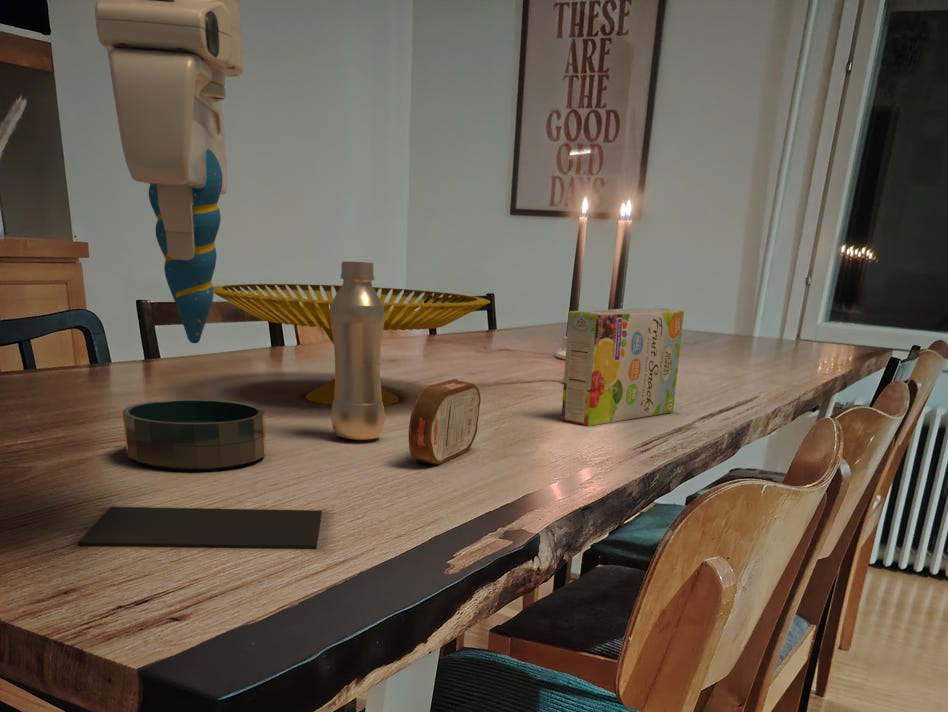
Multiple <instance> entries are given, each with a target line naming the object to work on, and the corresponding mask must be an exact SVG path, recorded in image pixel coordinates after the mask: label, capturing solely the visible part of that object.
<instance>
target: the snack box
mask: <svg viewBox="0 0 948 712" xmlns="http://www.w3.org/2000/svg"><path fill="white" fill-rule="evenodd" d="M684 314H685V311H684V310H683V309H677V308H669V307H650V308H645V307H643V308H616V309H594V310H593V309H592V310H570V311H568V313H567V326H566V327H567V328H566V329H567V330H566V344H565V358H564V359H565V360H564V373H563V375H564V376H563V387H562V389H563V391H562V393H563V394H562V404H561V418H560V419H561V420H560V421H562V422H565V423H571V424H577V425H582V426H587V427H591V426H592V427H593V426H597V425H603V424H609V423H615V422H622V421H627V420H634V419H640V418H647V417H651V416H659V415H665V414H670V413H671V414H672V413H674V409H675V408H674V407H675V397H676V389H677V388H676V387H677V381H678V380H677V379H678V371H679V361H680V352H681V342H682V334H683V332H682V331H683V326H684V325H683V323H684V316H685V315H684Z"/></svg>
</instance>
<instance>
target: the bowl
mask: <svg viewBox="0 0 948 712" xmlns="http://www.w3.org/2000/svg"><path fill="white" fill-rule="evenodd" d="M121 412H122V421H123V430H124V441H125V451H126V454H127V457H128V458H129V459H131V460H134V461H136V462H137V463H140V464H142V465H145V466H148V467H151V468H156V469H162V470H169V471H182V472H183V471H185V472H205V471H206V472H208V471H221V470H229V469H235V468H240V467H243V466H247V465H250V464H252V463H254V462H256V461H258V460H260V459H261V458H264V457H265V456H266V453H267V439H266V438H267V437H266V416H265V415H266V413H265V411H264V410H263V409H262V408H261V407H259V406H255V405H253V404H248V403H243V402H237V401H227V400H218V399H171V400H155V401H149V402H141V403H138V404H134V405H130V406H127V407H126V408H124V409H123V410H122V411H121Z"/></svg>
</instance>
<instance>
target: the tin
mask: <svg viewBox="0 0 948 712" xmlns="http://www.w3.org/2000/svg"><path fill="white" fill-rule="evenodd" d="M480 407H481V392H480V390H479V388H478V386H477V385H476V384H475V383H472V382H468V381H463V380H458V379H457V378H452V379H449V380H444V381H440V382H436V383H431V384H428V385H426V386H424V387H423V389H422V390H421V391H420V392H419V394H418V396H417V397H416V399H415V401H414V404H413V407H412V410H411V414H410V419H409V425H408V449H409V452H410V453H409V454H410V455H411V457H412V459H413V460H414V461H415V462H417V463H425V464H430V465H437V466H438V465H442V464H443V463H446V462H448V461H450V460H453V459H454V458H457V457H459V456H462V455H463V454H466V453H467V452H468V451H469V450H470V448H471V447H472V446H473V443H474V442H475V438H476V436H477V432H478V423H479V416H480Z"/></svg>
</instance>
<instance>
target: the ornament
mask: <svg viewBox="0 0 948 712" xmlns="http://www.w3.org/2000/svg"><path fill="white" fill-rule="evenodd" d="M206 173H207V179H206V185H205V187H204V188H202V189H197V188H193V187H192V192H193V206H192V213H193V227H194V233H196V249H197V255H196V257H195V258H194V259H192V260H173V259H172V258H170V257H169V255H168V253H167V241H166V231H165V228H164V224H163V220H162V216H161V213H160V209H159V205H158V193H157V186H156V185H151V184H149V188H148V199H149V203H150V206H151V208H152V211H153V212H154V216H155V217H156V219H157V221H156V223H155V224H156V225H155V237H156V241H157V243H158V246H159V249H160V251H161V253H162V255H163V257H164V266H163V267H164V275H165V279H166V282H167V283H166V284H167V285H168V288H169V291H170V293H171V296H172V298H173V301H174V304H175V306H176V308H177V311H178V314H179V317H180V321H181V323H182V325H183V328H184V331H185V334H186V337H187V340H188V341H189V343H191V344H199V342H200V341H201V338H202V334H203V331H204V329H205V325H206V322H207V320H208V316H209V313H210V310H211V307H212V305H213V300H214V294H215V293H214V292H213V287H214V286H213V282H212V280H213V277H214V273H215V268H216V264H217V249H216V245H215V241H216V238H217V236H218V232H219V229H220V225H221V211H220V207H219V205H218V202H219V199H220V197H221V194H220V193H221V189H222V181H223V177H222V171H221V167H220V164H219V162H218V160H217V158H216V156H215V155H214V153H213V152H212V151H211V150H209V149H207V152H206Z"/></svg>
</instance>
